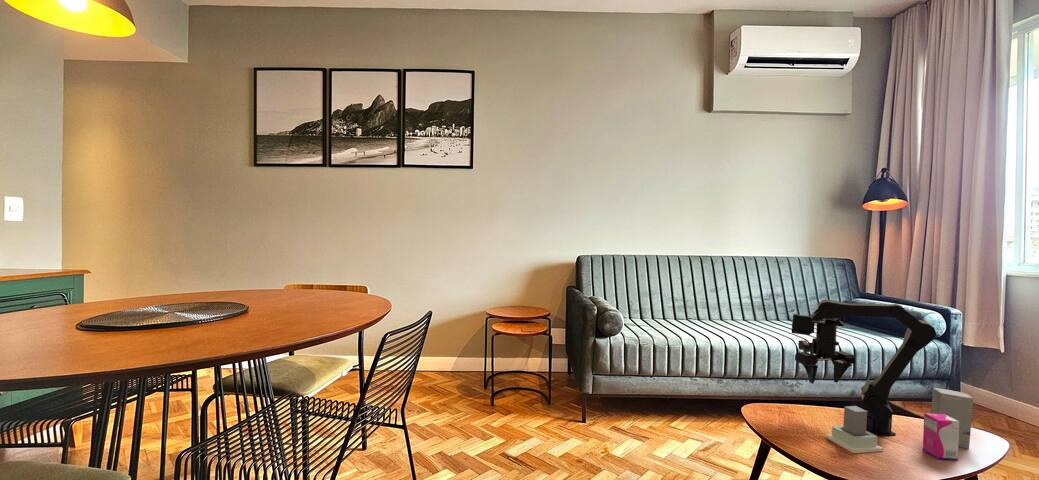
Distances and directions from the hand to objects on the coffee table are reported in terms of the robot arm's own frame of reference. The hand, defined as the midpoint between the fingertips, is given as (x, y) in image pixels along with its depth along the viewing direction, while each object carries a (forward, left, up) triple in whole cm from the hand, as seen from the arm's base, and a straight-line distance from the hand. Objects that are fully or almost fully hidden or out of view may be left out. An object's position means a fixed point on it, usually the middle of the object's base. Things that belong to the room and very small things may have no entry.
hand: (823, 382), depth 162 cm
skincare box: (-28, +19, -13) cm, 36 cm away
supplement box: (-16, +26, -13) cm, 33 cm away
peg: (+4, +17, -12) cm, 21 cm away
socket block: (+4, +17, -13) cm, 22 cm away
